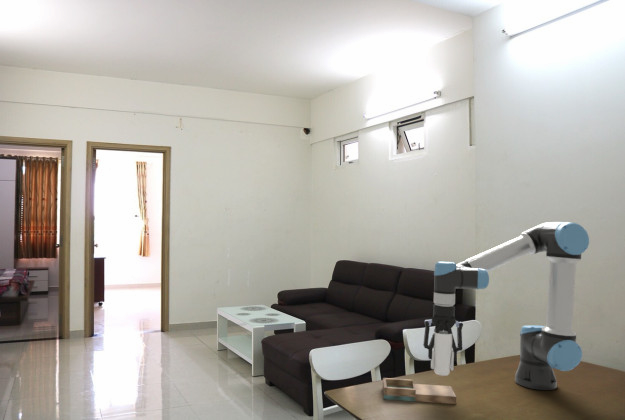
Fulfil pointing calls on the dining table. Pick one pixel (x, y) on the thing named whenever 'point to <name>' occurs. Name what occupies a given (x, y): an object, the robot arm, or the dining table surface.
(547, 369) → the robot arm
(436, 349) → the white cylinder
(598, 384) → the dining table surface
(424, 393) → the rail board
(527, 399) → the dining table surface
